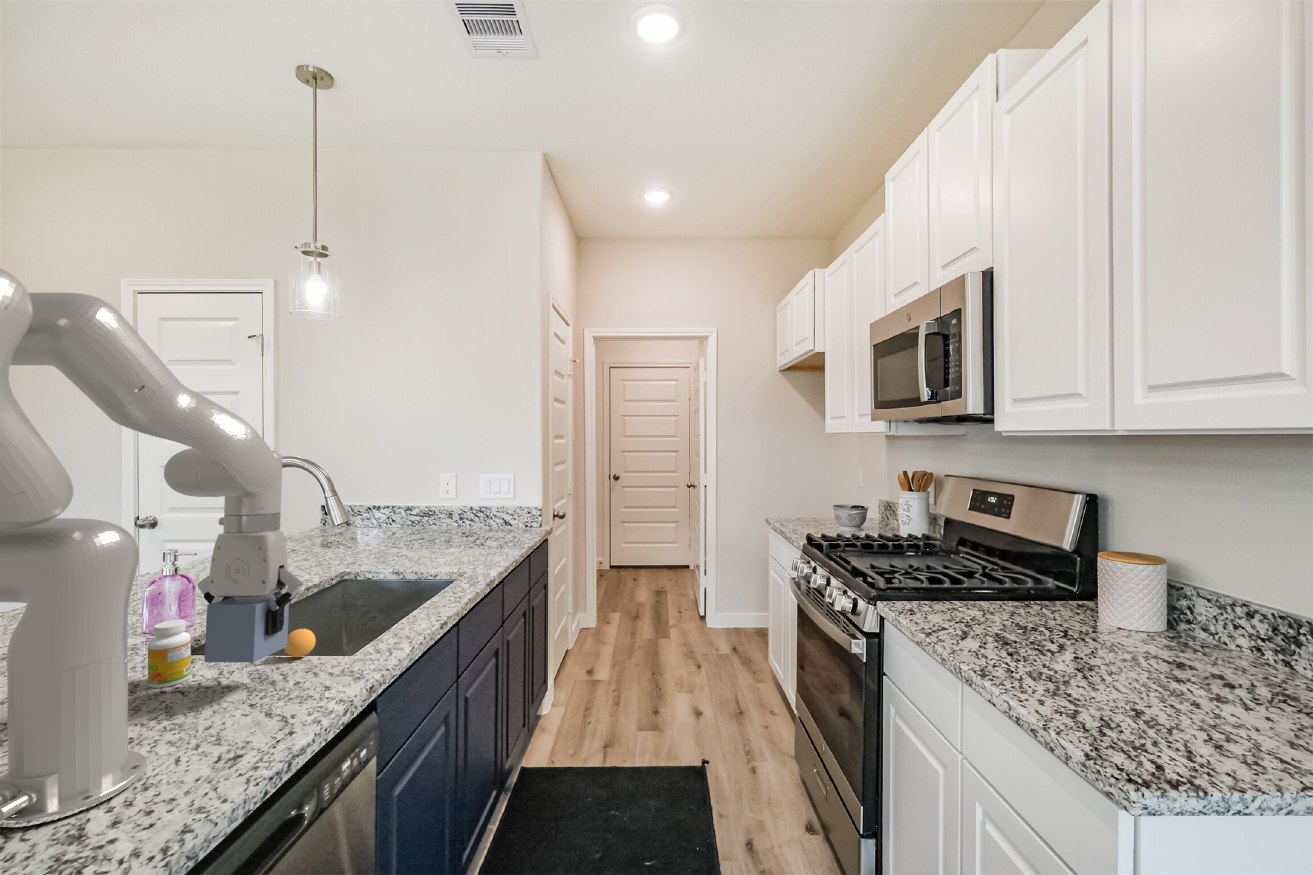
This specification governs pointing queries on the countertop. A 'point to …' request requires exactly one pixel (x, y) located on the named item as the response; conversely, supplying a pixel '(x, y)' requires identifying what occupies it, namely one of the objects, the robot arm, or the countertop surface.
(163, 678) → the supplement bottle
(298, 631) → the egg
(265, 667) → the countertop surface
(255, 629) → the slate blue rectangular box
